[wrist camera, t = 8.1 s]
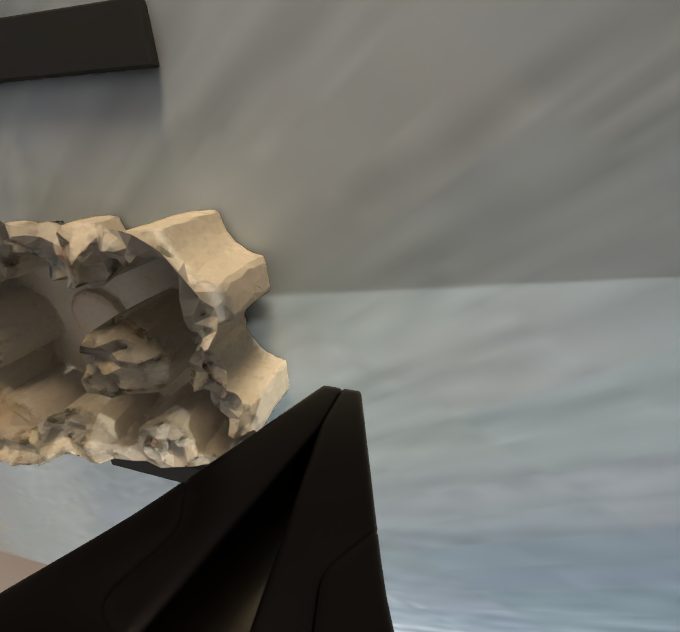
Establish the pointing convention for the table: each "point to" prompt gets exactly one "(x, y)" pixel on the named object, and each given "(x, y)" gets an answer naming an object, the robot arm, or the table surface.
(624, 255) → the table surface
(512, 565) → the table surface
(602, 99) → the table surface
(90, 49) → the bay strips
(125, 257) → the tan rough lump
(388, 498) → the table surface
